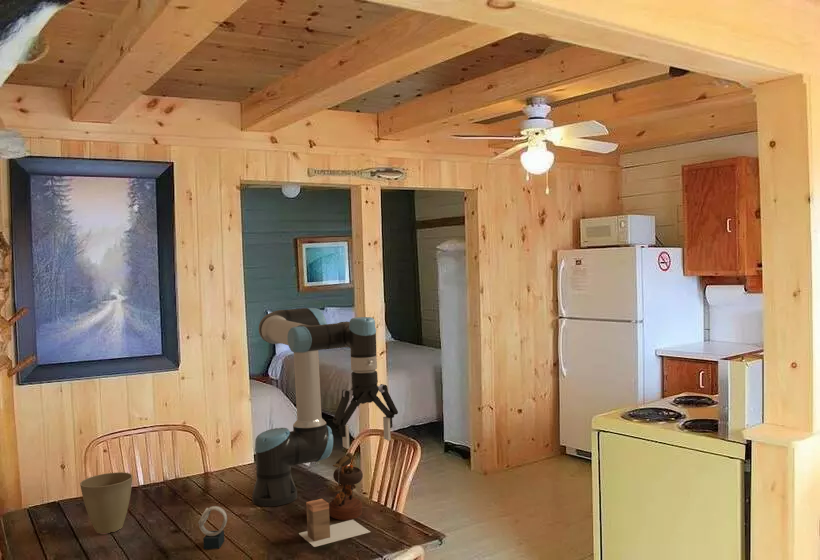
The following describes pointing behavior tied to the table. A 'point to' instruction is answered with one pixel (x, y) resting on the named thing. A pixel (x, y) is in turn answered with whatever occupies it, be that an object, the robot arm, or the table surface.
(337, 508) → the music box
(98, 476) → the plant pot
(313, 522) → the walnut block
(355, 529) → the mat
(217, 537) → the watch
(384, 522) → the table surface
